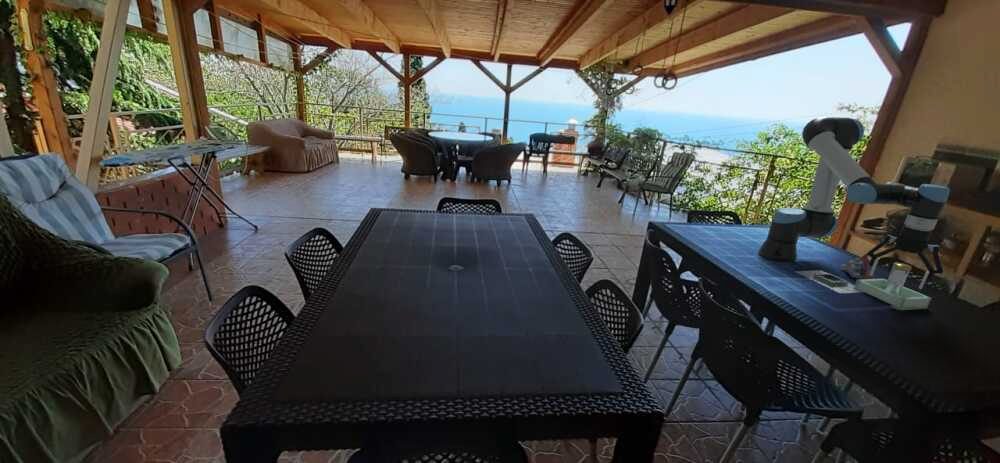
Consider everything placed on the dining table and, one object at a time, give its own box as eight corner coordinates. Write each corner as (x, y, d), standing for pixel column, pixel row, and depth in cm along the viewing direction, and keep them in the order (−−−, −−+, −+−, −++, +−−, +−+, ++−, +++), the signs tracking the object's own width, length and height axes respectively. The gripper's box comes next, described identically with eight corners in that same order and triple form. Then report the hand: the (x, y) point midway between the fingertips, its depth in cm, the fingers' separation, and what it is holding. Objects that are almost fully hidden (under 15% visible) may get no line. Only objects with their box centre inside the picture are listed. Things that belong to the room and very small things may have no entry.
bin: (853, 289, 155) (856, 279, 153) (879, 288, 157) (883, 278, 156) (898, 310, 140) (902, 299, 138) (926, 308, 142) (931, 298, 141)
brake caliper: (885, 281, 158) (871, 256, 158) (853, 290, 164) (839, 266, 163) (873, 270, 168) (860, 247, 168) (843, 280, 174) (830, 257, 173)
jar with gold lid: (877, 293, 149) (890, 262, 145) (887, 293, 150) (900, 262, 146) (891, 299, 145) (904, 267, 141) (901, 299, 146) (915, 267, 142)
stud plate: (793, 273, 167) (795, 268, 167) (820, 272, 170) (822, 267, 169) (839, 295, 149) (841, 289, 148) (868, 294, 151) (871, 288, 151)
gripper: (870, 220, 146) (850, 271, 153) (970, 240, 128) (942, 297, 135) (873, 217, 150) (854, 266, 157) (970, 236, 133) (943, 291, 140)
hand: (894, 281), depth 146 cm, fingers open, 13 cm apart
